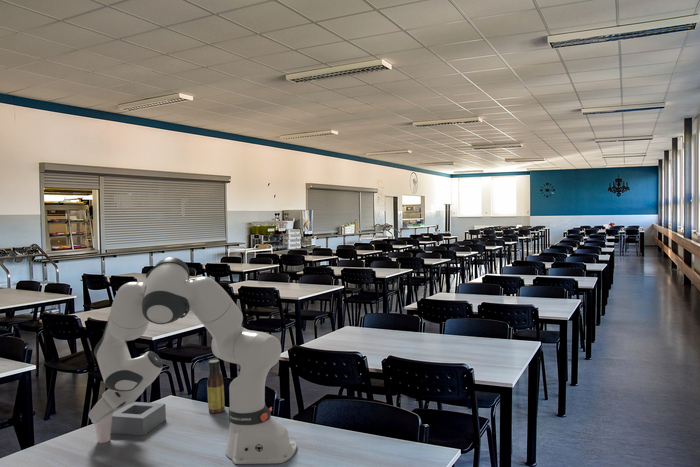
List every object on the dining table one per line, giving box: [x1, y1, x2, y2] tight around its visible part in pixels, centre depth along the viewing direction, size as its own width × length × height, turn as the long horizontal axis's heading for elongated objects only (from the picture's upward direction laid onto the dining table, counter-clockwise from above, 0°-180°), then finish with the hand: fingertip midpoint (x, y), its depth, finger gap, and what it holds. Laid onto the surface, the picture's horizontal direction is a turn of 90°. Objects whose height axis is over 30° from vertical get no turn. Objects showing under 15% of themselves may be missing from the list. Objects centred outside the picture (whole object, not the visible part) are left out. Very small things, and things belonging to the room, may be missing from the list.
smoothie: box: [94, 413, 114, 444], centre depth 173 cm, size 6×6×14 cm
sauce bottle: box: [206, 359, 226, 414], centre depth 198 cm, size 6×6×20 cm
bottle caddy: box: [111, 401, 167, 436], centre depth 185 cm, size 14×14×6 cm
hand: (101, 417), depth 173 cm, fingers closed on smoothie, 6 cm apart
